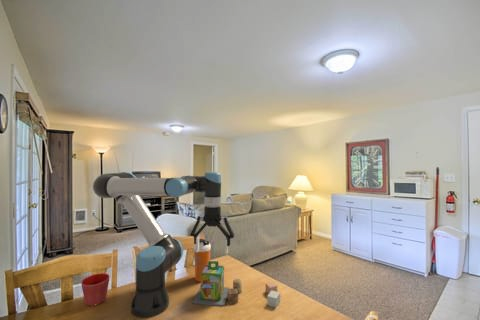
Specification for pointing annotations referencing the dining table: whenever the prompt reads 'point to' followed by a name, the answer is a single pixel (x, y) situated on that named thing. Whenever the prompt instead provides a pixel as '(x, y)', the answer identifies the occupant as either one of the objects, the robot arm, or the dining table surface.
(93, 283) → the flower pot
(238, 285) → the oak cylinder
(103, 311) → the dining table surface
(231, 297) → the walnut block
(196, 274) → the shaker bottle
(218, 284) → the chalk box
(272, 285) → the terracotta cube
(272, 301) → the grey plastic block
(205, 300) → the mat
